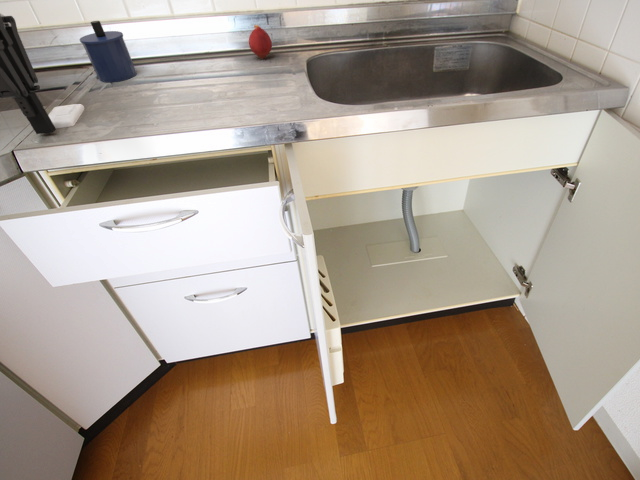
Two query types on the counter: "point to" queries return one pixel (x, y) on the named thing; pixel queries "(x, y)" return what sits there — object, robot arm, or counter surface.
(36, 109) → the robot arm
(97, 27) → the pot lid
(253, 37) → the onion
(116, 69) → the pot
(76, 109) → the soap
